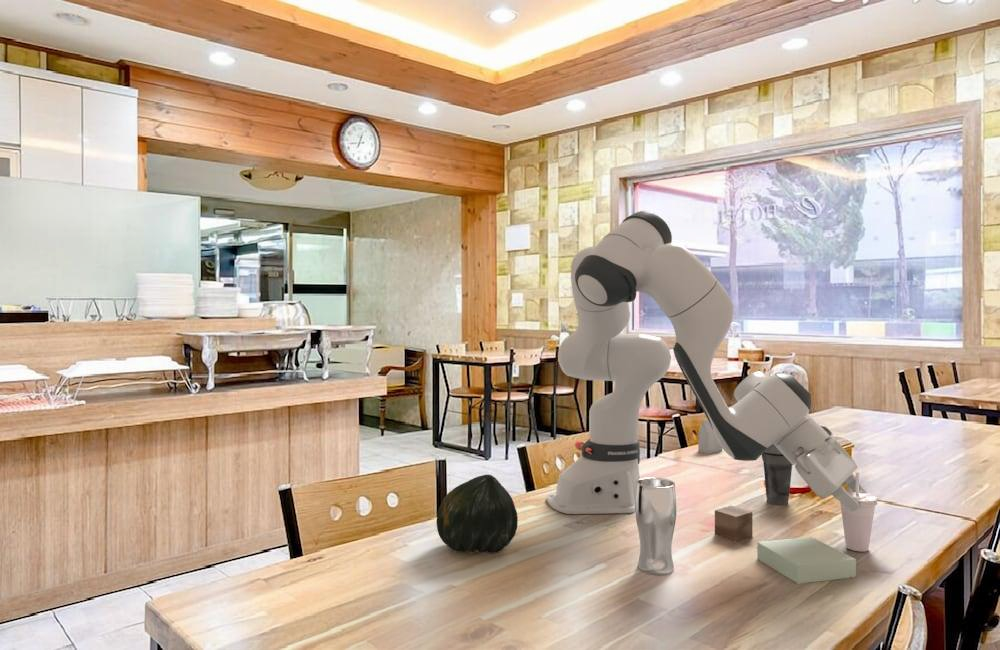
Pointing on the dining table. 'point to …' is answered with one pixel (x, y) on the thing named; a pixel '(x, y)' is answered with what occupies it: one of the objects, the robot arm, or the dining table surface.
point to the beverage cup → (776, 476)
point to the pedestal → (806, 559)
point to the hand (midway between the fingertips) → (861, 503)
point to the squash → (477, 516)
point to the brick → (733, 523)
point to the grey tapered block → (707, 439)
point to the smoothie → (858, 520)
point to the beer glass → (655, 524)
